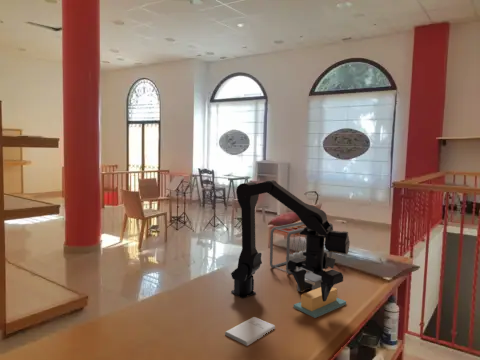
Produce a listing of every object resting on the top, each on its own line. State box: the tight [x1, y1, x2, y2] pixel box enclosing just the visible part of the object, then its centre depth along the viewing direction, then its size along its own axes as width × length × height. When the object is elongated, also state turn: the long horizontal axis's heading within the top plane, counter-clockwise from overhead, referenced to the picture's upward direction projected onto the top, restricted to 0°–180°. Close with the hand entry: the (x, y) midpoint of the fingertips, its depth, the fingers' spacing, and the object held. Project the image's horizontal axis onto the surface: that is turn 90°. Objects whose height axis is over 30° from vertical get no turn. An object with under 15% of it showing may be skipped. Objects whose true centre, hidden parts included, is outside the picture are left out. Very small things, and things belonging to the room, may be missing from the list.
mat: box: [293, 297, 347, 319], centre depth 124 cm, size 16×9×1 cm, turn 129°
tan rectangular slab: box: [300, 286, 338, 311], centre depth 123 cm, size 13×4×4 cm, turn 130°
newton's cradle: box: [269, 221, 334, 275], centre depth 164 cm, size 30×10×18 cm, turn 130°
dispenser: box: [296, 271, 323, 293], centre depth 135 cm, size 11×8×6 cm
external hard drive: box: [224, 316, 276, 347], centre depth 106 cm, size 2×8×12 cm
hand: (312, 296), depth 121 cm, fingers open, 9 cm apart
